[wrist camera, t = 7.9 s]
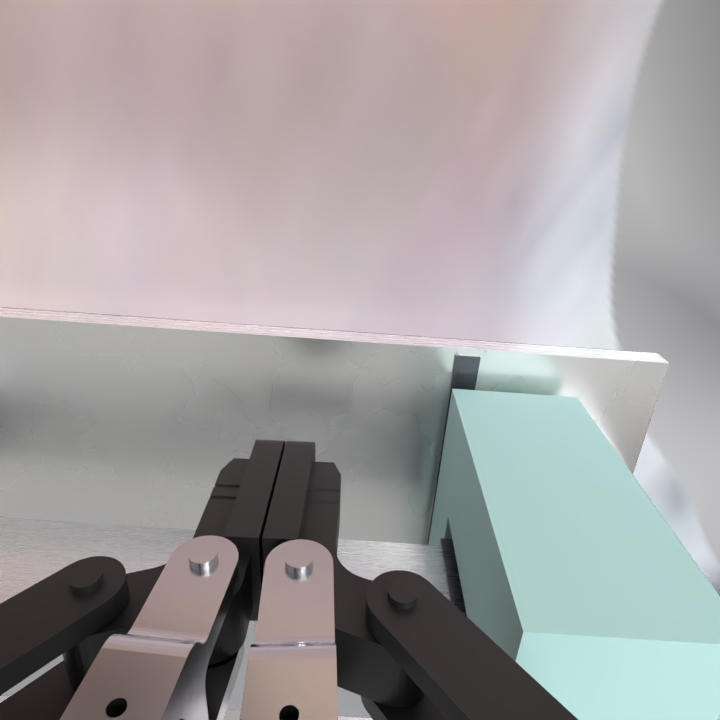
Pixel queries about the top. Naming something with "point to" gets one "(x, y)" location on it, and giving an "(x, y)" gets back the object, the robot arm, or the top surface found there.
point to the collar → (574, 561)
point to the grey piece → (254, 433)
